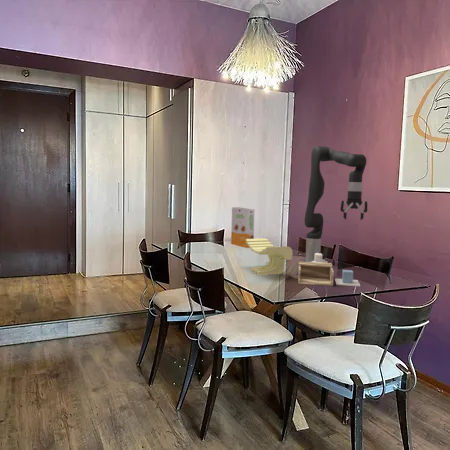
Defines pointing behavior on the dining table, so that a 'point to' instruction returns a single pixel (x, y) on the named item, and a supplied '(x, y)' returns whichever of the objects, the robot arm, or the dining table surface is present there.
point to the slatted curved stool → (274, 253)
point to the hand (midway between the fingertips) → (353, 219)
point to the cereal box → (242, 226)
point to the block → (347, 276)
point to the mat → (355, 283)
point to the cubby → (315, 273)
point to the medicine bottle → (319, 258)
